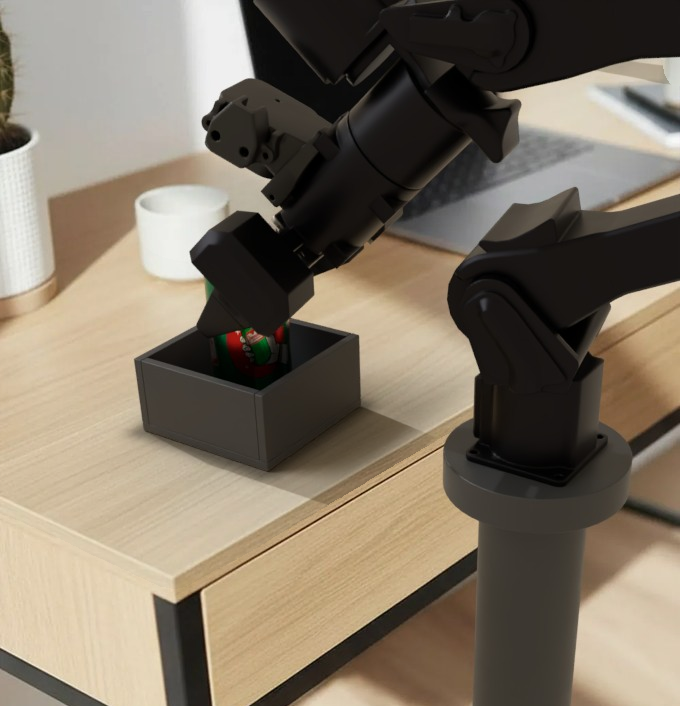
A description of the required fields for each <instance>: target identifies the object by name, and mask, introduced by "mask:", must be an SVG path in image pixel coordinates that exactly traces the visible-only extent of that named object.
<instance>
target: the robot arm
mask: <svg viewBox="0 0 680 706" xmlns="http://www.w3.org/2000/svg"><path fill="white" fill-rule="evenodd" d="M252 2H253V4H254V5H255V6H256V7H257V8H258V9H259V11H260V12H261V13H262V14H263V15H264V16H265V18H267V20H268V21H269V22H270V23H271V24H272V25H273V26H274V28H275V29H276V30H277V31H278V32H279V33H280V35H282V37H283V38H284V39H285V40H286V41H287V42H288V43H289V45H291V47H292V48H293V49H294V50H295V51H296V52H297V54H298V55H299V56H300V57H301V58H302V59H303V60H304V62H305V63H306V64H307V65H308V66H309V67H310V68H311V69H312V71H313V72H314V73H315V74H316V75H317V76H318V78H319V79H320V80H321V81H322V82H323V83H324V84H325V85H328V84H332V86H336V85H337V84H338V83H339V82H341V80H343V78H344V77H345V76H346V80H347V81H348V83H349V84H350V85H351V86H352V87H356V86H357V85H359V84H360V83H362V82H363V81H364V80H365V79H366V78H367V77H368V76H370V75H371V74H372V73H373V72H374V71H375V70H376V69H377V68H378V67H380V66H381V64H382V63H383V62H384V61H385V60H386V59H387V58H389V56H390V55H391V54H393V52H394V51H395V52H396V53H397V54H398V55H399V56H400V57H399V58H398V59H396V61H395V62H394V64H392V66H391V67H390V68H389V69H388V70H387V71H386V72H385V73H384V74H383V75H382V76H381V78H379V79H378V81H376V83H375V84H374V85H373V86H372V87H371V88H370V89H369V90H368V91H367V93H365V95H364V96H363V97H362V98H361V99H360V100H359V101H357V103H356V104H355V105H354V106H353V107H352V108H351V109H350V110H347V111H346V112H345V113H343V114H341V115H340V116H339V117H338V119H336V120H335V121H334V123H331V122H330V121H328V120H327V119H325V118H324V117H322V116H320V115H318V113H317V112H316V111H315V110H313V109H312V107H309V106H308V105H306V104H304V103H302V102H300V101H299V100H297V99H295V98H294V97H292V96H290V95H289V94H287V93H285V92H284V91H282V90H281V89H279V88H276V87H274V86H272V85H271V84H270V83H267V82H265V81H264V80H261V79H258V78H252V77H248V78H245V79H242V80H240V81H239V82H237V83H234V84H233V85H231V86H229V87H226V88H225V89H223V90H221V92H220V93H219V96H218V99H216V100H215V101H214V103H213V106H212V107H211V110H210V111H209V112H208V113H206V114H205V115H204V116H202V118H201V121H200V122H201V127H202V128H203V130H204V131H205V132H206V135H205V140H204V145H205V147H206V149H207V150H209V152H210V153H212V154H214V155H216V156H218V157H220V158H221V159H223V160H225V161H226V162H228V163H230V164H231V165H233V166H234V167H237V169H247V170H248V171H250V172H252V173H253V174H255V175H257V176H259V177H260V178H261V177H262V178H264V179H268V180H269V181H268V183H266V185H264V187H263V188H262V189H261V190H260V193H261V194H262V195H263V196H264V197H265V198H266V200H268V201H269V203H270V204H271V205H272V206H273V207H274V208H279V207H280V208H281V210H279V211H278V212H277V213H275V214H274V215H273V216H272V217H271V222H272V223H273V225H274V226H275V227H276V228H277V230H278V234H277V232H276V231H275V230H274V229H273V228H272V227H271V226H270V225H269V224H270V223H269V222H268V221H267V220H266V219H265V218H264V217H263V216H262V215H261V214H260V213H259V212H256V211H246V210H236V211H234V212H232V213H231V214H230V215H228V216H227V217H225V218H224V219H222V220H221V221H220V222H218V223H217V224H215V225H214V226H212V227H211V228H209V229H208V230H207V231H206V232H205V233H204V234H203V235H202V236H201V237H200V239H199V240H198V241H197V242H196V243H195V244H194V245H193V246H192V248H191V249H190V250H189V251H188V252H189V257H190V263H191V264H192V265H193V266H194V267H195V268H196V270H197V271H198V272H199V273H200V274H201V275H202V276H203V278H204V277H205V278H206V279H207V280H208V281H209V282H210V283H211V285H212V286H213V287H214V288H213V290H212V292H211V295H210V297H209V299H208V301H207V303H206V302H205V305H204V307H203V310H202V311H201V313H200V315H199V318H198V319H197V321H196V325H195V326H196V327H197V329H198V330H199V331H200V332H201V333H202V334H203V335H204V336H205V337H206V338H212V337H216V336H220V335H224V334H228V333H232V332H235V331H239V330H243V329H247V328H252V329H253V330H254V331H255V332H256V333H257V334H259V335H262V336H265V337H270V336H271V335H272V334H273V333H275V332H276V331H277V330H278V329H279V328H280V327H281V326H282V325H283V324H284V323H285V322H287V321H288V320H289V319H290V318H293V316H294V315H295V314H296V313H297V312H299V311H300V310H301V309H302V308H303V306H305V305H306V304H307V303H308V302H310V300H311V299H312V298H314V297H315V278H314V277H317V276H318V275H321V274H324V273H327V272H330V271H332V270H334V269H336V270H338V269H339V268H340V267H342V266H345V265H348V264H349V263H351V261H352V260H353V259H355V258H356V257H357V256H358V255H359V254H360V253H361V252H362V251H364V249H365V244H366V243H368V244H369V245H372V244H373V243H374V242H375V241H376V240H377V239H378V238H380V236H382V235H383V234H384V233H385V232H386V231H387V230H388V229H389V228H390V227H391V226H392V225H393V224H395V222H397V220H398V219H400V218H401V217H402V216H403V215H404V207H405V206H406V205H407V204H408V203H409V202H411V200H412V199H414V198H415V196H417V195H418V194H419V193H420V192H421V191H422V190H423V189H424V188H426V185H427V184H428V183H430V182H431V181H432V180H433V179H434V178H435V177H436V176H437V175H439V173H440V172H441V171H442V170H443V169H444V168H445V167H446V166H447V165H449V164H450V163H451V161H453V160H454V159H455V158H456V157H457V156H458V155H459V154H460V153H461V152H462V151H463V150H464V149H465V148H467V146H468V145H470V144H471V143H472V142H473V143H474V144H475V145H476V147H478V148H479V150H480V151H481V152H482V153H483V154H484V155H485V157H486V158H487V159H488V160H489V161H490V162H491V163H493V164H500V163H502V162H503V160H504V159H506V157H507V156H508V155H510V154H511V152H512V151H514V149H516V148H517V146H519V144H520V141H521V140H520V125H519V116H520V111H521V109H522V105H523V104H522V101H521V100H520V99H518V98H502V97H500V96H498V95H495V94H494V93H499V94H503V93H510V92H515V91H520V90H524V89H530V88H533V87H538V86H542V85H547V84H552V83H556V82H560V81H565V80H569V79H572V78H575V77H579V76H582V75H585V74H588V73H592V72H595V71H599V70H601V69H604V68H608V67H611V66H614V65H618V64H623V63H627V62H633V61H636V60H645V59H647V60H649V59H650V60H651V59H671V58H672V59H673V58H680V0H253V1H252ZM581 206H582V205H581V197H580V191H579V188H578V187H577V186H572V187H570V188H568V189H565V190H563V191H561V192H559V193H557V194H555V195H553V196H551V197H550V198H547V199H544V200H543V201H539V202H533V203H522V202H521V203H519V202H513V203H512V204H511V205H510V206H509V207H508V208H507V210H506V211H505V212H504V213H503V214H502V215H501V217H499V219H498V220H497V221H496V222H495V223H494V225H493V226H492V227H491V228H490V229H489V230H488V231H487V232H486V233H485V235H483V237H482V238H481V239H480V240H479V242H478V243H477V244H476V245H475V246H474V248H473V249H472V250H471V251H470V252H469V254H467V256H466V257H465V258H464V259H463V260H462V261H461V263H459V265H458V266H457V267H456V268H455V269H454V271H453V273H452V275H451V278H450V280H449V281H448V285H447V295H446V302H447V306H448V311H449V316H450V317H451V319H452V321H453V322H454V325H455V326H456V328H457V329H458V330H459V332H461V333H462V335H464V336H465V338H466V339H468V341H469V345H470V347H471V350H472V354H473V355H474V356H473V357H474V359H475V363H476V366H477V369H478V371H479V373H478V374H476V375H475V376H474V378H473V382H474V383H473V413H472V418H473V435H474V437H475V438H478V439H479V440H478V441H477V442H475V443H474V444H473V445H472V446H471V447H470V448H468V449H467V450H466V459H467V460H468V461H470V462H473V463H477V464H480V465H483V466H487V467H490V468H494V469H497V470H500V471H504V472H507V473H510V474H514V475H517V476H520V477H524V478H527V479H531V480H534V481H537V482H541V483H544V484H547V485H551V486H554V487H564V486H566V485H567V484H568V483H569V482H570V481H571V480H572V479H573V478H574V477H575V476H576V475H577V474H578V473H579V472H580V471H581V470H582V469H583V468H584V467H585V466H586V465H587V464H588V463H589V462H590V461H591V460H592V459H593V458H594V457H595V456H596V455H597V454H598V453H599V452H600V451H601V450H602V449H603V448H604V447H605V446H606V445H607V443H608V436H607V435H606V434H603V433H599V432H598V423H599V421H600V413H601V412H600V411H601V401H602V400H601V399H602V389H603V378H604V367H605V359H604V358H602V357H598V356H594V355H592V353H591V352H590V351H589V350H590V348H591V346H592V344H593V343H594V340H595V339H596V338H598V335H599V334H600V332H601V330H602V328H603V326H604V324H605V322H606V320H607V318H608V316H609V314H610V312H611V310H612V304H611V303H612V302H614V301H616V300H618V299H620V298H622V297H624V296H626V295H631V294H633V293H637V292H638V293H639V292H641V291H645V290H648V289H653V288H657V287H660V286H661V287H662V286H665V285H669V284H673V283H677V282H680V193H677V194H674V195H670V196H666V197H663V198H660V199H656V200H652V201H650V202H645V203H643V204H639V205H636V206H631V207H629V208H626V209H622V210H615V211H600V210H587V209H582V207H581ZM268 223H269V224H268Z"/></svg>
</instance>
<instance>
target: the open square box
mask: <svg viewBox="0 0 680 706" xmlns="http://www.w3.org/2000/svg"><path fill="white" fill-rule="evenodd" d="M289 325H290V341H291V358H292V371H291V372H290V373H288V374H286V375H285V376H283V377H282V378H280V379H279V380H277V381H275V382H274V383H272V384H271V385H269V386H267V387H266V388H264V389H263V390H261V391H259V390H256V389H252V388H249V387H245V386H242V385H239V384H235V383H232V382H228V381H225V380H222V379H218V378H215V377H214V376H213V366H212V356H211V345H210V338H206V337H205V336H204V335H203V334H202V333H201V332H200V331H199V330H198V329H197V327H196V325H193V326H192V327H190V328H188V329H187V330H184V331H183V332H181V333H179V334H176V336H173V337H172V338H170V339H168V340H166V341H164V342H162V343H161V344H159V345H157V346H154V347H152V348H151V349H149V350H148V351H146V352H144V353H141V354H140V355H137V356H136V357H134V358H133V362H134V363H133V364H134V370H135V377H136V385H137V392H138V399H139V407H140V413H141V422H142V428H143V431H145V432H148V433H151V434H154V435H157V436H160V437H163V438H167V439H169V440H173V441H175V442H178V443H181V444H184V445H187V446H190V447H192V448H196V449H199V450H202V451H205V452H208V453H211V454H213V455H217V456H220V457H223V458H226V459H228V460H231V461H235V462H238V463H240V464H244V465H247V466H250V467H253V468H255V469H259V470H261V471H265V472H269V471H271V470H273V469H274V468H275V467H277V465H280V464H281V463H282V462H283V461H285V460H286V459H288V458H289V457H290V456H292V455H294V453H296V452H297V451H299V450H300V449H302V448H303V447H304V446H306V445H308V444H309V443H310V442H311V441H313V440H315V439H316V438H317V437H319V436H321V435H322V434H323V433H324V432H326V431H327V430H329V429H330V428H332V427H333V426H334V425H336V424H337V423H339V422H340V421H341V420H343V419H344V418H345V417H347V416H348V415H350V414H351V413H353V412H354V411H356V409H358V408H360V407H361V406H362V398H361V397H362V389H361V388H362V387H361V385H362V384H361V352H360V351H361V350H360V347H361V346H360V335H359V334H357V333H353V332H350V331H346V330H341V329H336V328H334V327H330V326H325V325H321V324H317V323H314V322H309V321H305V320H301V319H297V318H293V317H291V318H290V319H289Z"/></svg>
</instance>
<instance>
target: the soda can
mask: <svg viewBox="0 0 680 706" xmlns="http://www.w3.org/2000/svg"><path fill="white" fill-rule="evenodd" d="M267 223H268V224H269V225H270V226H271V227H272V228H273V229H274V230H275V231H276V232H277V234H278V231H279V229H278V228H277V227H276V226H275V225H274V224H271V223H270V222H267ZM203 283H204V284H203V285H204V293H205V304H206V303H207V301H208V299H209V297H210V295H211V292H212V290H213V288H214V287H213V286H212V285H211V283H210V282H209V281H208V280H207V279H206V278H205V277H204V276H203ZM210 345H211V356H212V366H213V376H214V377H215V378H218V379H222V380H225V381H228V382H232V383H235V384H239V385H242V386H245V387H249V388H252V389H256V390H259V391H261V390H263V389H264V388H266V387H267V386H269V385H271V384H272V383H274V382H275V381H277V380H279V379H280V378H282V377H283V376H285V375H286V374H288V373H290V372H291V371H292V358H291V341H290V325H289V320H288V321H287V322H285V323H284V324H283V325H282V326H281V327H280V328H279V329H278V330H277V331H276V332H275V333H273V334H272V335H271V336H270V337H265V336H262V335H259V334H257V333H256V332H255V331H254V330H253V329H252V328H247V329H243V330H239V331H235V332H232V333H228V334H224V335H220V336H216V337H212V338H210Z"/></svg>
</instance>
